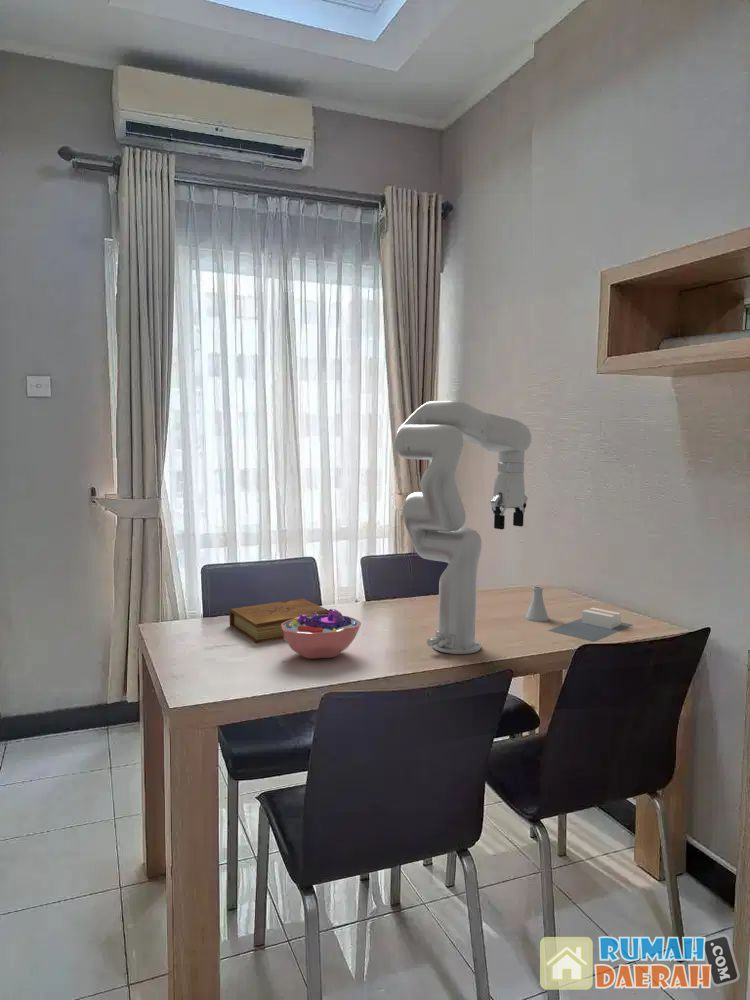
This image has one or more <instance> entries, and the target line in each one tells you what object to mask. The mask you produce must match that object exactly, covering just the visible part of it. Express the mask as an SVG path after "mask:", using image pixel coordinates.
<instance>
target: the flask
mask: <svg viewBox="0 0 750 1000" xmlns="http://www.w3.org/2000/svg"><path fill="white" fill-rule="evenodd" d="M532 590H533V594H532V598H531V601H530V604H529V607H528V609H527V611H526V615H525V617H524V619H525V620H527V621H529V622H537V623H540V622H543V623H544V622H548V621H549V619H550V618H549V615H548V612H547V609H546V605H545V602H544V596H543V590H544V587H542V586H532Z"/></svg>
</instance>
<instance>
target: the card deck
mask: <svg viewBox="0 0 750 1000" xmlns="http://www.w3.org/2000/svg"><path fill="white" fill-rule="evenodd" d="M581 613H582V614H581V618H582V623H586V624H591V625H595V626H600V627H604V628H609V629H612V628H614V627H617V626H619V625H620V623H621V622H622V621H621V620H622V618H621V617H622V612H616V611H613V610H612V611H611V610H606V609H601V608H597V607H589V608H586V609H584V610H582V611H581Z"/></svg>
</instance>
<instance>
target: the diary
mask: <svg viewBox="0 0 750 1000" xmlns="http://www.w3.org/2000/svg"><path fill="white" fill-rule="evenodd" d="M329 610H330V609H327V608H326V607H323V606H320V605H318V604H316V603H314V602H311V601H309V600H307V599H305V598H299V599H291V600H284V601H276V602H275V601H274V602H269V603H264V604H256V605H254V604H253V605H249V606H241V607H236V608H234V607H233V608H230V609H229V612H228V613H229V615H228V616H229V626H230V628H232V629H233V630H235V631H237V632H238V633H240V634H241V635H243V636H245V637H246V638H247V639H248V640H251V641H252V643H253V642H254V643H255V644H261V643H267V642H271V641H277V640H285V639H284V637H283V633H282V627H281V624H282V623H284V622H286V621H288V620H291V619H293V618H296V617H299V616H300V614H302V616H303V615H309V614H328V612H329Z"/></svg>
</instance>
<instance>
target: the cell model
mask: <svg viewBox="0 0 750 1000" xmlns="http://www.w3.org/2000/svg"><path fill="white" fill-rule="evenodd" d="M328 610H329V612H328V614H309V615H303V616H302V614H300V616H299V617H296V618H293V619H291V620H288V621H286V622H284V623H282V624H281V627H282V633H283V637H284V639H283V640H284V641H285V642H286V643H287V644H288V646H289V648H290V649H291V650H292V651H293V652H294V653H296V654H297V655H300V656H302V657H304V658H306V659H313V660H315V659H330V658H335V657H337V656H338V655H340V654H341V653H342V652H344V651H345V650H347V649H348V648H349V647H350V645H351V644H352V642H353V641H354V640H355V639H356V637H357V635H358V633H359V631H360V628H361V625H362V622H361V621H360V620H358V619H356V618H354V617H351V616H348V615H347V616H346V615H343V614H342V612H340V611H339V610H337V609H334V608H330V609H328Z"/></svg>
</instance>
